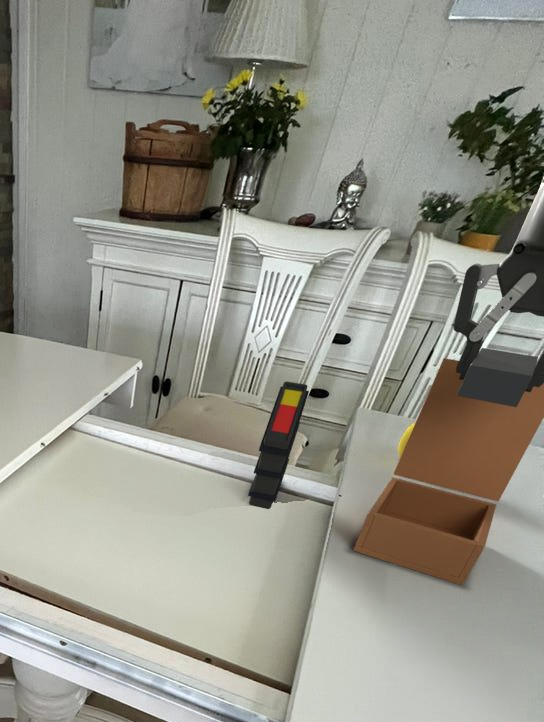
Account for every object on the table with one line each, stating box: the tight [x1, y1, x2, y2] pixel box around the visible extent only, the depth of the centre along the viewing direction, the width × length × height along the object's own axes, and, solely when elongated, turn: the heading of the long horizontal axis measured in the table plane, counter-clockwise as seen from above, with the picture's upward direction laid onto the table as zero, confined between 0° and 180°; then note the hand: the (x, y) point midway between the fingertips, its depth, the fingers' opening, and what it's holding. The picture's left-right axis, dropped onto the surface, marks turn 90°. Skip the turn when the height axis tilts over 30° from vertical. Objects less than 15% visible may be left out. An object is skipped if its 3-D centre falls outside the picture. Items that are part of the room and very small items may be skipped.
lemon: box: [397, 421, 416, 459], centre depth 93 cm, size 6×6×8 cm
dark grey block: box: [457, 347, 539, 407], centre depth 62 cm, size 6×10×3 cm, turn 145°
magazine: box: [247, 381, 310, 510], centre depth 82 cm, size 4×13×15 cm, turn 156°
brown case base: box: [352, 476, 498, 586], centre depth 74 cm, size 14×13×5 cm
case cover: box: [393, 357, 544, 502], centre depth 75 cm, size 14×13×6 cm
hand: (494, 383), depth 63 cm, fingers closed on dark grey block, 5 cm apart
